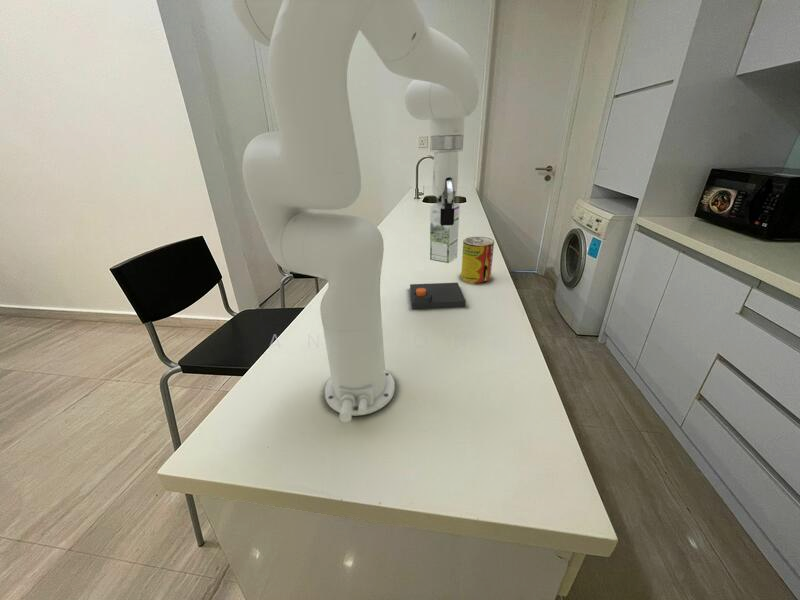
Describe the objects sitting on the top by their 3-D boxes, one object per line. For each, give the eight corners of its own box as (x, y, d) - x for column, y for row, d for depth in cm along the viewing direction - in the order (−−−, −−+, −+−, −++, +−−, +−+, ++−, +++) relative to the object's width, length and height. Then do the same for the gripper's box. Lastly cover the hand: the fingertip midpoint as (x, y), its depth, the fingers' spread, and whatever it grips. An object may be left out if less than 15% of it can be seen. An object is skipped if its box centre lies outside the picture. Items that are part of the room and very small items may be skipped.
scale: (465, 308, 86) (466, 296, 85) (411, 310, 86) (411, 298, 85) (457, 288, 98) (457, 277, 96) (409, 290, 98) (409, 279, 96)
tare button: (426, 297, 86) (426, 291, 86) (416, 297, 86) (416, 292, 86) (425, 292, 89) (425, 287, 88) (415, 293, 89) (415, 287, 88)
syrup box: (457, 257, 89) (460, 202, 83) (448, 264, 85) (450, 206, 79) (438, 254, 92) (440, 200, 86) (429, 260, 88) (429, 204, 81)
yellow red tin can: (470, 285, 99) (473, 247, 93) (456, 275, 107) (457, 238, 101) (496, 281, 101) (500, 243, 96) (480, 270, 109) (483, 235, 104)
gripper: (426, 144, 84) (426, 213, 92) (434, 146, 68) (433, 230, 76) (456, 143, 84) (453, 212, 92) (470, 145, 68) (466, 229, 76)
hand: (444, 220), depth 84 cm, fingers closed on syrup box, 7 cm apart
